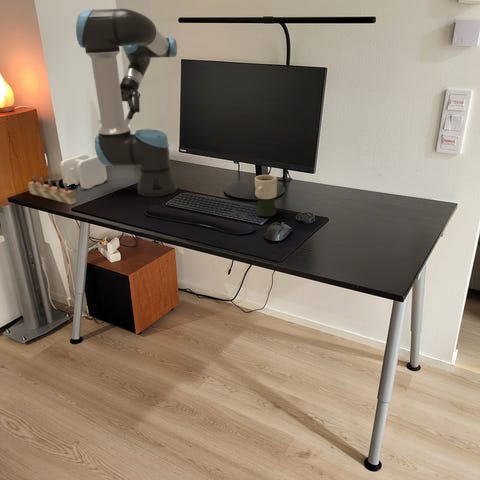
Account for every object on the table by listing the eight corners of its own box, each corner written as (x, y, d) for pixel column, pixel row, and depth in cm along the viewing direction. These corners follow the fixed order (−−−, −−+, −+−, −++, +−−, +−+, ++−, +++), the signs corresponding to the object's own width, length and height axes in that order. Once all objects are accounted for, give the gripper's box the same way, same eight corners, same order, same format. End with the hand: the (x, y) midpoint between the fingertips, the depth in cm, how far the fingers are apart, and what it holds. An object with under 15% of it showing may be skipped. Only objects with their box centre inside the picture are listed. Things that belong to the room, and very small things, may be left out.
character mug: (263, 208, 169) (262, 172, 164) (282, 211, 166) (282, 174, 161) (249, 219, 160) (248, 181, 155) (269, 222, 157) (268, 183, 152)
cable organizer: (83, 192, 194) (78, 163, 189) (63, 189, 198) (57, 161, 194) (108, 181, 206) (104, 154, 201) (89, 179, 211) (84, 152, 206)
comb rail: (76, 202, 182) (73, 183, 179) (71, 204, 180) (67, 185, 177) (35, 191, 196) (31, 173, 193) (30, 193, 194) (26, 175, 191)
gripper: (158, 88, 211) (140, 131, 206) (114, 86, 222) (96, 126, 217) (149, 77, 204) (130, 121, 199) (104, 75, 216) (85, 116, 211)
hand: (112, 124), depth 208 cm, fingers open, 13 cm apart
